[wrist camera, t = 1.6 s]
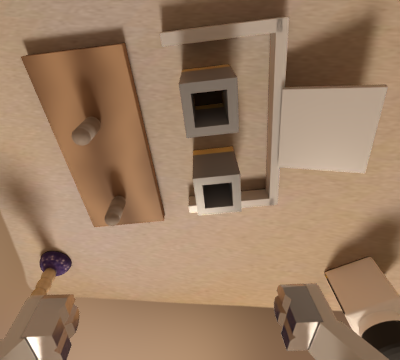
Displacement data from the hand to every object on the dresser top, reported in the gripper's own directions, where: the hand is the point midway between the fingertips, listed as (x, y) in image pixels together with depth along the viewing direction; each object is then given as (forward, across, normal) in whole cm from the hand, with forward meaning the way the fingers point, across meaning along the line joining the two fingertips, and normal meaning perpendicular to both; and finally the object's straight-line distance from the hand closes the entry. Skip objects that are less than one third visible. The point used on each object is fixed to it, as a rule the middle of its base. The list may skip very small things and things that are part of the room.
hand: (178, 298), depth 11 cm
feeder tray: (+20, -9, -1) cm, 22 cm away
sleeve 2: (+20, -4, +4) cm, 21 cm away
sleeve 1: (+20, -3, -4) cm, 21 cm away
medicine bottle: (+20, -27, +24) cm, 41 cm away
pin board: (+21, +8, +2) cm, 22 cm away
